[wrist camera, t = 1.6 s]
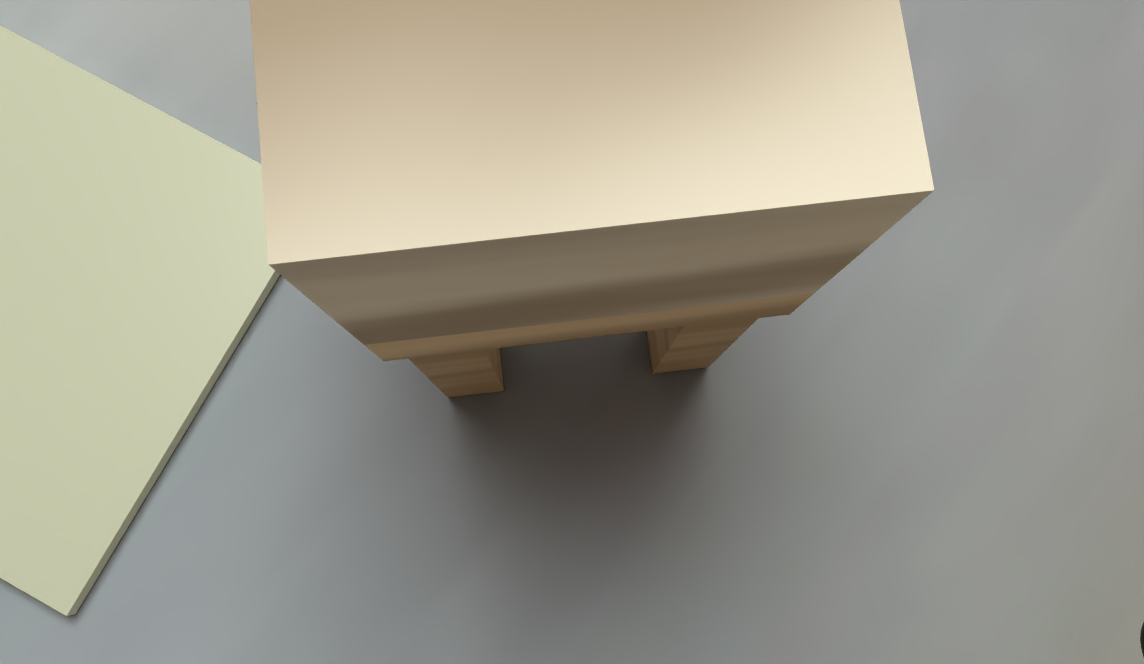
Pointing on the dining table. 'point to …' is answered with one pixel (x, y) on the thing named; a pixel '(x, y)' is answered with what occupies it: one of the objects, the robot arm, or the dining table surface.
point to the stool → (577, 167)
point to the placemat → (106, 307)
